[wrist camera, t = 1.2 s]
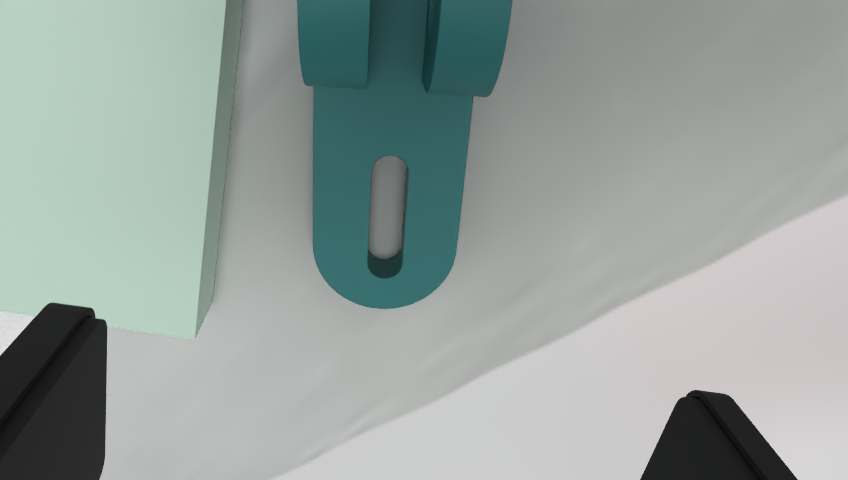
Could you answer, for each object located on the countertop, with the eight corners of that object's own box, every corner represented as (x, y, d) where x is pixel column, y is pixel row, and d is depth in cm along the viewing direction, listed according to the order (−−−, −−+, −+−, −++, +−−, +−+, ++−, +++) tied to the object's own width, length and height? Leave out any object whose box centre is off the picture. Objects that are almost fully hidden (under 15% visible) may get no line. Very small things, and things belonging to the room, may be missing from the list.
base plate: (265, -193, 24) (246, -216, 21) (214, 296, 33) (194, 339, 30) (-77, -287, 22) (-163, -331, 19) (-34, 257, 31) (-88, 298, 28)
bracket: (319, -109, 25) (296, -129, 18) (485, -94, 26) (525, -107, 19) (316, 283, 33) (299, 377, 26) (445, 288, 34) (463, 381, 26)
